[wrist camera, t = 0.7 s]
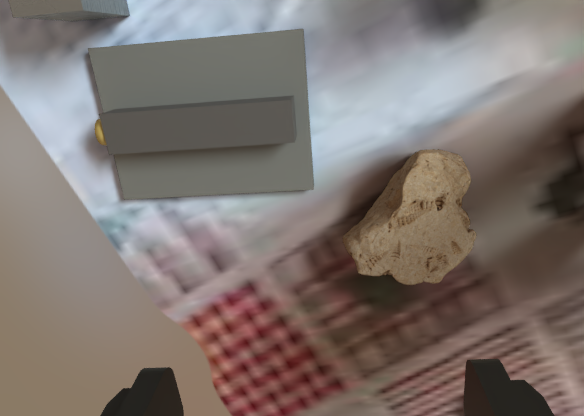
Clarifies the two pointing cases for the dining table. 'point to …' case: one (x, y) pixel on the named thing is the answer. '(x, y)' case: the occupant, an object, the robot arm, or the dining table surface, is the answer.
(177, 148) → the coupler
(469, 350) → the dining table surface
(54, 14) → the grey arch block
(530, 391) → the robot arm
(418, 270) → the stone
